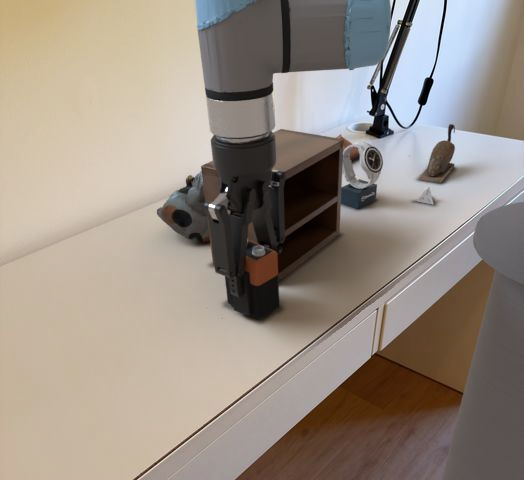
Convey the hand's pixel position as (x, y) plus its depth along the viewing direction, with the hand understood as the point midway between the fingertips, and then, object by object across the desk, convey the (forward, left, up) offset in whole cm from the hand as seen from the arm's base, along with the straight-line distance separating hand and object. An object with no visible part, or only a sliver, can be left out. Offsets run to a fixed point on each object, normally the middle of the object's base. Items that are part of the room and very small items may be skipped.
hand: (255, 302), depth 75 cm
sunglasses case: (+21, -56, -1) cm, 60 cm away
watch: (+5, -40, -1) cm, 40 cm away
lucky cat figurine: (+23, -16, -1) cm, 28 cm away
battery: (0, 0, -1) cm, 1 cm away
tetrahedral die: (-6, -47, -1) cm, 47 cm away
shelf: (+7, -16, -1) cm, 18 cm away
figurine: (-2, -63, -1) cm, 63 cm away
